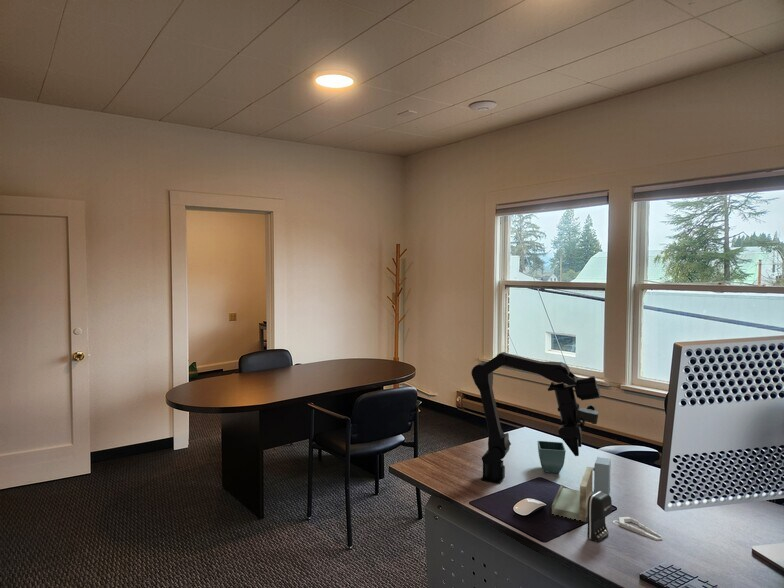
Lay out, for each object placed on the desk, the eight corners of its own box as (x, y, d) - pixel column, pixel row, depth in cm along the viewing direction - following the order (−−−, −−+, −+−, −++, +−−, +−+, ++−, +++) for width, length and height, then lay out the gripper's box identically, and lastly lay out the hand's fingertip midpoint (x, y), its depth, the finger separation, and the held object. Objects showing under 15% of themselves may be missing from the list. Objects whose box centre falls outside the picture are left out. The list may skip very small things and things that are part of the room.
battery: (600, 544, 128) (601, 501, 128) (586, 539, 131) (587, 496, 131) (613, 535, 133) (613, 493, 133) (599, 530, 136) (599, 488, 136)
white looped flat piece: (667, 539, 133) (668, 533, 133) (659, 545, 130) (660, 539, 130) (619, 518, 143) (620, 512, 143) (611, 523, 140) (611, 517, 140)
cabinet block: (591, 495, 158) (591, 462, 157) (593, 488, 163) (593, 456, 162) (608, 498, 155) (609, 465, 155) (610, 491, 160) (610, 459, 160)
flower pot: (565, 476, 173) (566, 450, 172) (539, 474, 174) (539, 448, 174) (562, 466, 181) (562, 442, 181) (537, 464, 183) (537, 440, 183)
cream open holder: (551, 514, 145) (552, 480, 144) (561, 493, 159) (561, 462, 159) (585, 521, 140) (586, 486, 140) (592, 499, 155) (592, 467, 154)
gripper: (591, 405, 147) (604, 458, 146) (595, 392, 164) (606, 440, 163) (552, 410, 152) (565, 461, 151) (560, 397, 169) (571, 443, 168)
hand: (578, 451), depth 158 cm, fingers open, 9 cm apart
